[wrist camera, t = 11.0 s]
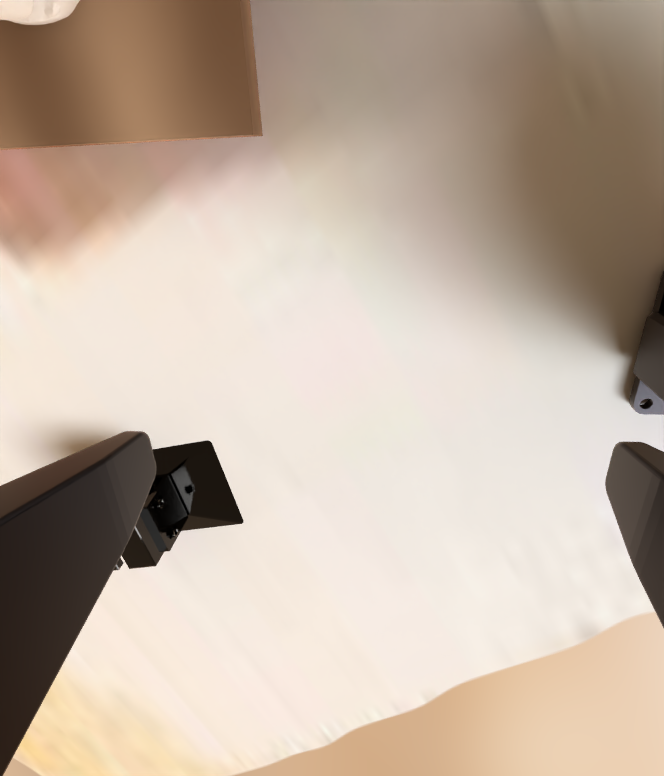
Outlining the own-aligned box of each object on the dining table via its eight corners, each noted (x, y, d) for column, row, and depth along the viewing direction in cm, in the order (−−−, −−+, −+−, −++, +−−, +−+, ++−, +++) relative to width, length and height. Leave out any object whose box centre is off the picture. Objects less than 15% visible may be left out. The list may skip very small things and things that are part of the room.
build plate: (87, 545, 30) (39, 608, 26) (29, 449, 27) (-36, 502, 23) (274, 524, 27) (254, 589, 23) (233, 414, 24) (201, 467, 20)
